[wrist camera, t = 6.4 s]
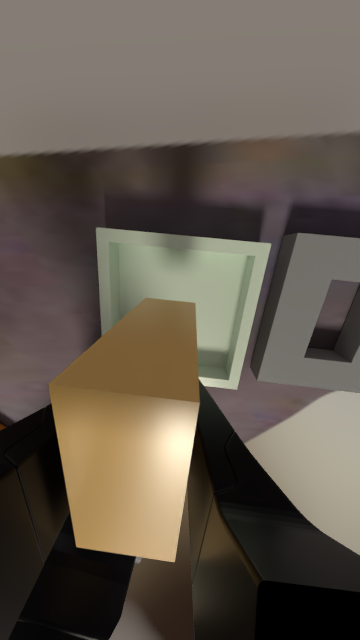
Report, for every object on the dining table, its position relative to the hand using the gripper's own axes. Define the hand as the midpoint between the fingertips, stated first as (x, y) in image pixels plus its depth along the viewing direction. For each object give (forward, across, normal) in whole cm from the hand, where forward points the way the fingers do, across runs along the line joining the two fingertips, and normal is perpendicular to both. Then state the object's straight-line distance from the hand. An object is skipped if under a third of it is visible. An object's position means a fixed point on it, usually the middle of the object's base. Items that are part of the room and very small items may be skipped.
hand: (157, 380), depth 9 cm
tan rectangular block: (+4, 0, 0) cm, 4 cm away
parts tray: (+12, 0, 0) cm, 12 cm away
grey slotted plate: (+12, -15, -1) cm, 19 cm away
